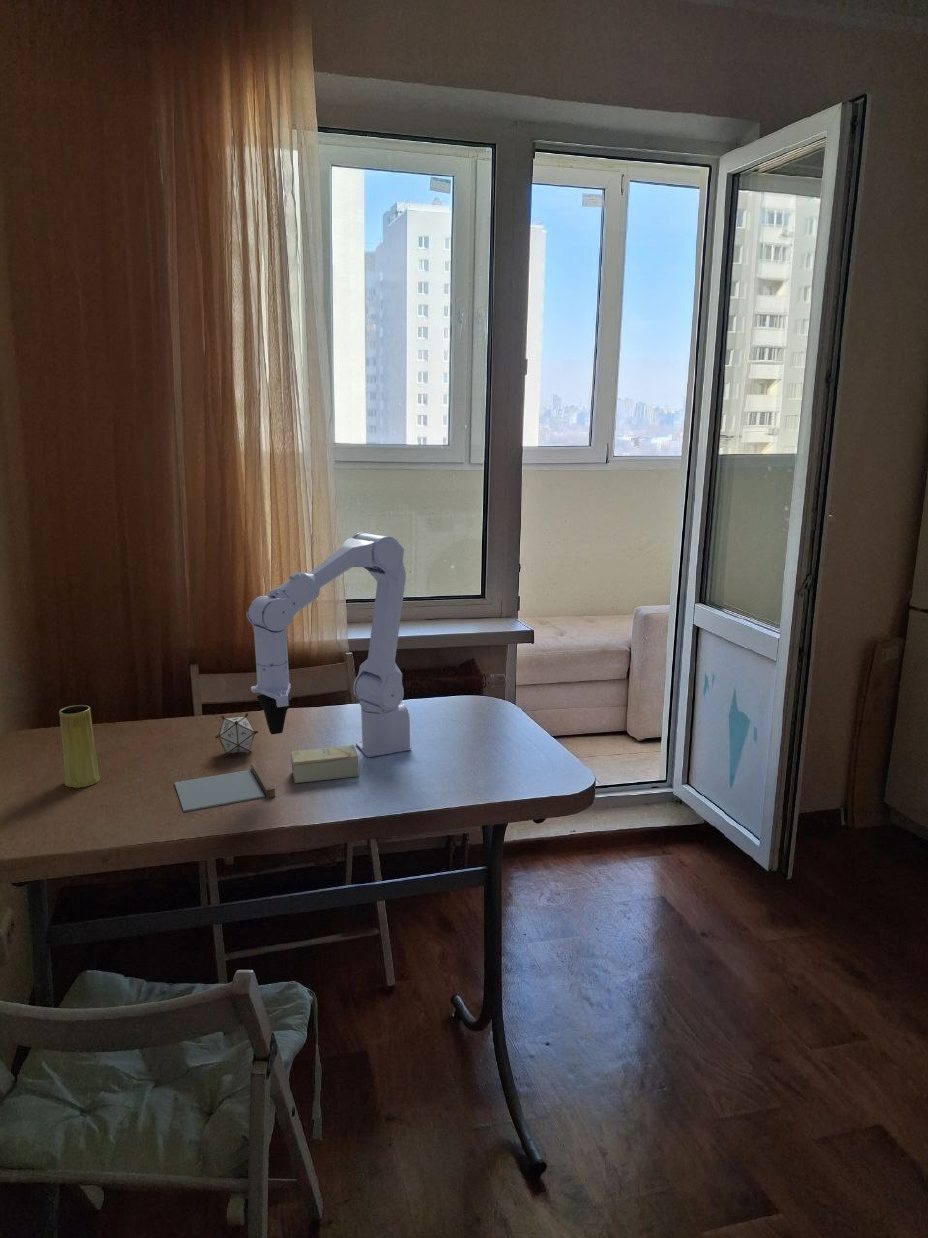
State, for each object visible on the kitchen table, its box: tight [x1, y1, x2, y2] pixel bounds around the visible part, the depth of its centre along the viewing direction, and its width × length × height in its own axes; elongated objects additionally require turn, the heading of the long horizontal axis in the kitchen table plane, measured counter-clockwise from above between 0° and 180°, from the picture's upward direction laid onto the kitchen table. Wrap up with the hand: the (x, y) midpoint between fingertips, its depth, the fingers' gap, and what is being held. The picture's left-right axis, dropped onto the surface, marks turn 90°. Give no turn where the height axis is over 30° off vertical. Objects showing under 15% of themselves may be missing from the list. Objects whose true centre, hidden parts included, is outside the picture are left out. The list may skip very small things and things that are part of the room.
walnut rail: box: [250, 761, 276, 799], centre depth 161 cm, size 2×14×2 cm, turn 25°
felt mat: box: [174, 769, 266, 813], centre depth 158 cm, size 14×13×1 cm
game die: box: [214, 712, 259, 758], centre depth 175 cm, size 9×8×10 cm
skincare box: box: [290, 744, 360, 784], centre depth 165 cm, size 6×4×12 cm
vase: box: [58, 704, 101, 789], centre depth 161 cm, size 6×6×14 cm
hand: (276, 732), depth 161 cm, fingers closed
